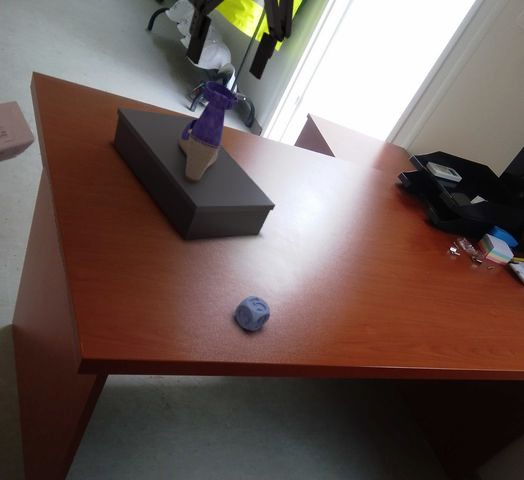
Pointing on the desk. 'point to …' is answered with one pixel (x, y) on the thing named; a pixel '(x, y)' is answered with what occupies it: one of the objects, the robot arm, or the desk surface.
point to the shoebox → (183, 191)
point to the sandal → (206, 131)
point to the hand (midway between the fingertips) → (224, 68)
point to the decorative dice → (252, 313)
